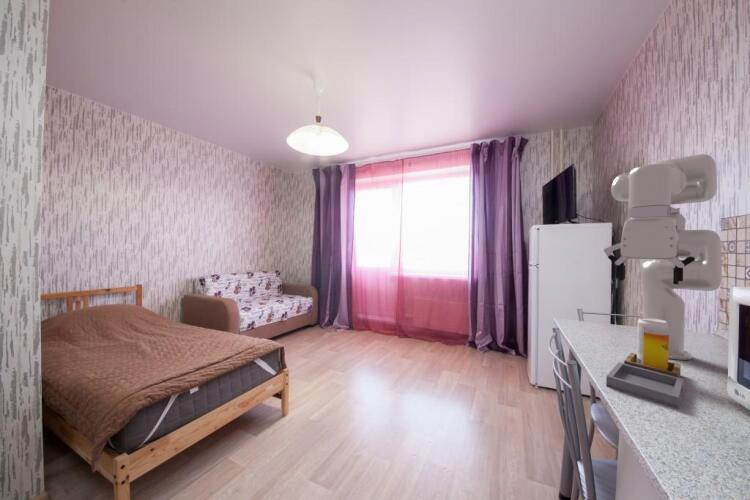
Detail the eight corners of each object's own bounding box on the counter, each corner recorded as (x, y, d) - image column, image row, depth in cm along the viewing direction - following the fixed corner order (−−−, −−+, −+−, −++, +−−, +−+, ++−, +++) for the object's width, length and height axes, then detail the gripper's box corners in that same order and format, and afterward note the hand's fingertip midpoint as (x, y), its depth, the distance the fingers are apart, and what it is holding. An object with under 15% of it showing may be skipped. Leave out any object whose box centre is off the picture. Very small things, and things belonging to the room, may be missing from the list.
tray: (618, 371, 76) (618, 362, 75) (683, 388, 66) (683, 378, 66) (606, 386, 67) (606, 376, 67) (678, 409, 57) (678, 397, 57)
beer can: (674, 379, 71) (675, 323, 71) (647, 377, 72) (648, 322, 72) (655, 369, 77) (656, 317, 77) (631, 367, 78) (632, 316, 78)
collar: (630, 362, 81) (631, 352, 81) (680, 375, 74) (680, 364, 74) (624, 371, 75) (624, 360, 75) (677, 385, 67) (677, 374, 67)
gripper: (703, 212, 63) (701, 284, 63) (607, 218, 77) (607, 277, 77) (702, 209, 58) (700, 287, 59) (601, 216, 72) (600, 279, 72)
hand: (647, 281), depth 68 cm, fingers open, 9 cm apart
